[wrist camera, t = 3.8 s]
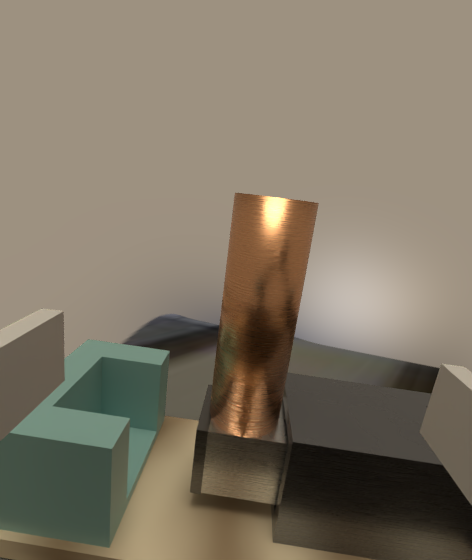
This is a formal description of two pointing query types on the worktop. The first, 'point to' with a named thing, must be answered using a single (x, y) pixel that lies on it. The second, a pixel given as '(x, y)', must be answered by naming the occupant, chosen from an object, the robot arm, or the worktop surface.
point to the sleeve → (366, 476)
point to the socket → (84, 445)
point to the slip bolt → (254, 350)
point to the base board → (174, 518)
